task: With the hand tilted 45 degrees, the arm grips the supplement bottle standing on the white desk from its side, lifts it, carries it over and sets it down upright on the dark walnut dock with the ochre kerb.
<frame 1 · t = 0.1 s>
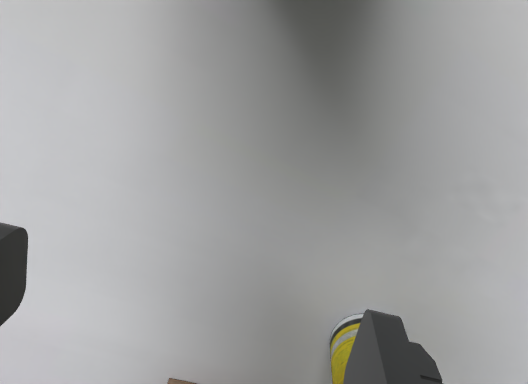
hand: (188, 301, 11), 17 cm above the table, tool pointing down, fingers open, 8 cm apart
supplement bottle: (364, 337, 32), on the table
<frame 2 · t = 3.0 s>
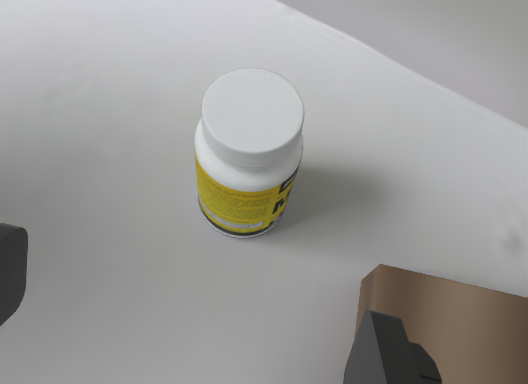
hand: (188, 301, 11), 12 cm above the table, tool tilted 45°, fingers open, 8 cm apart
supplement bottle: (242, 199, 26), on the table
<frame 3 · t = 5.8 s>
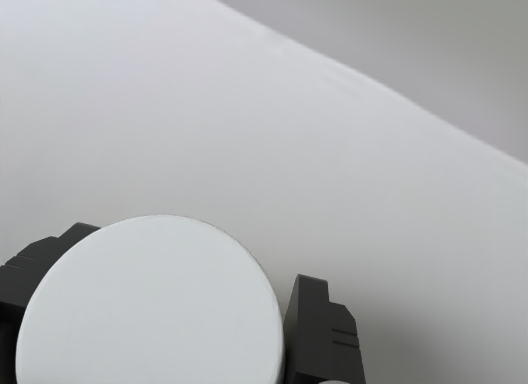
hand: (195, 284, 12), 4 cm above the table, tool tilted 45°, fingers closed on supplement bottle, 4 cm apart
supplement bottle: (186, 375, 15), on the table, touching gripper
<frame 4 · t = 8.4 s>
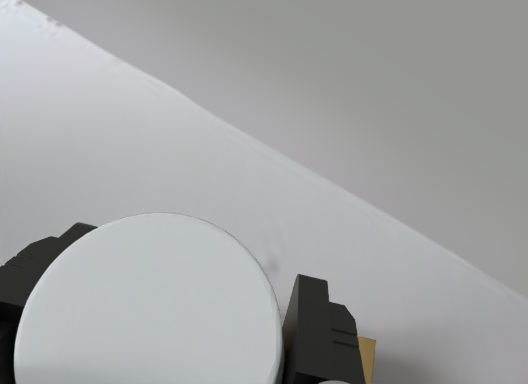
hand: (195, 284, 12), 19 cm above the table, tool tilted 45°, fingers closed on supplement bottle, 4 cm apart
supplement bottle: (185, 374, 15), point 14 cm above the table, touching gripper
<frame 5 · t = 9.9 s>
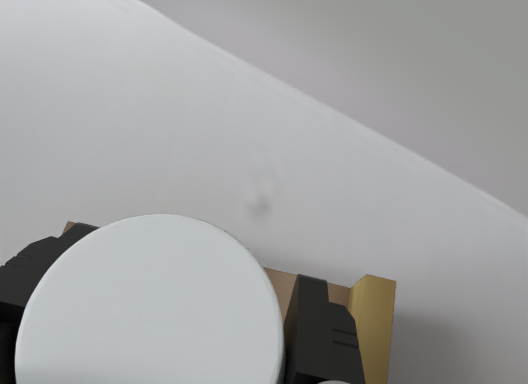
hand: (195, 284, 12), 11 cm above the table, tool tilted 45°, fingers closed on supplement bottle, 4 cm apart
dock: (194, 380, 21), on the table
supplement bottle: (186, 375, 15), point 7 cm above the table, touching gripper
when the fingers open (8 cm above the table, at t = 11.0 s): supplement bottle stays where it is, resting on dock.
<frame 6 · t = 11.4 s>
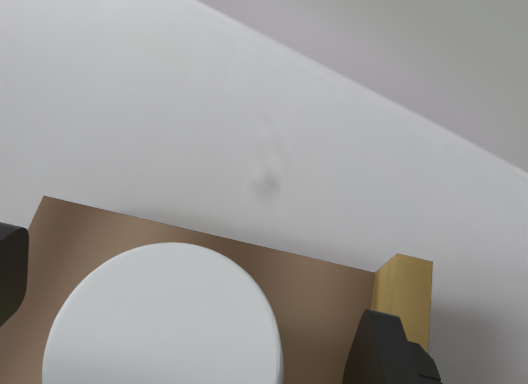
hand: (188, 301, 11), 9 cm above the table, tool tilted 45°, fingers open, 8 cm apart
dock: (191, 382, 18), on the table
supplement bottle: (189, 383, 16), point 3 cm above the table, touching dock
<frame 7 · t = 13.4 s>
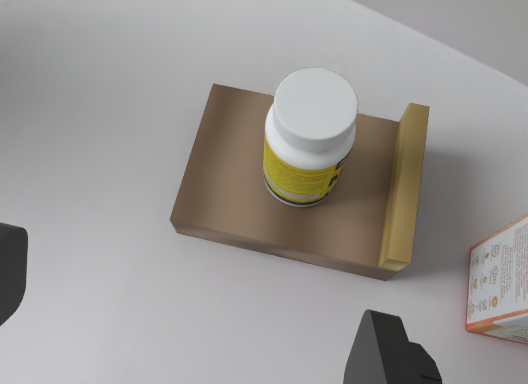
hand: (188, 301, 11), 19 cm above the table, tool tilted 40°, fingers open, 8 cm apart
dock: (295, 187, 32), on the table
supplement bottle: (299, 174, 30), point 3 cm above the table, touching dock
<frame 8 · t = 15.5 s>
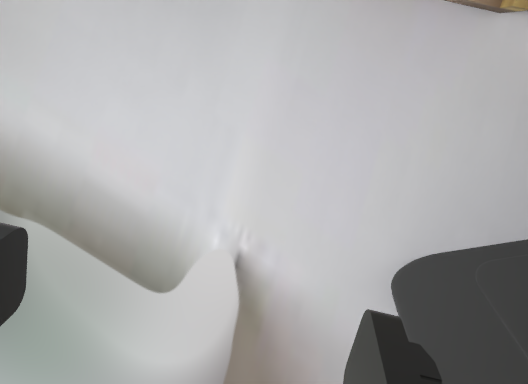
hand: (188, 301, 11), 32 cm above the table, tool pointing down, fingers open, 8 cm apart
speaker: (518, 267, 44), on the table
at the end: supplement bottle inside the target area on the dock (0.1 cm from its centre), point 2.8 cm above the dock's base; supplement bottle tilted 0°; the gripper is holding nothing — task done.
